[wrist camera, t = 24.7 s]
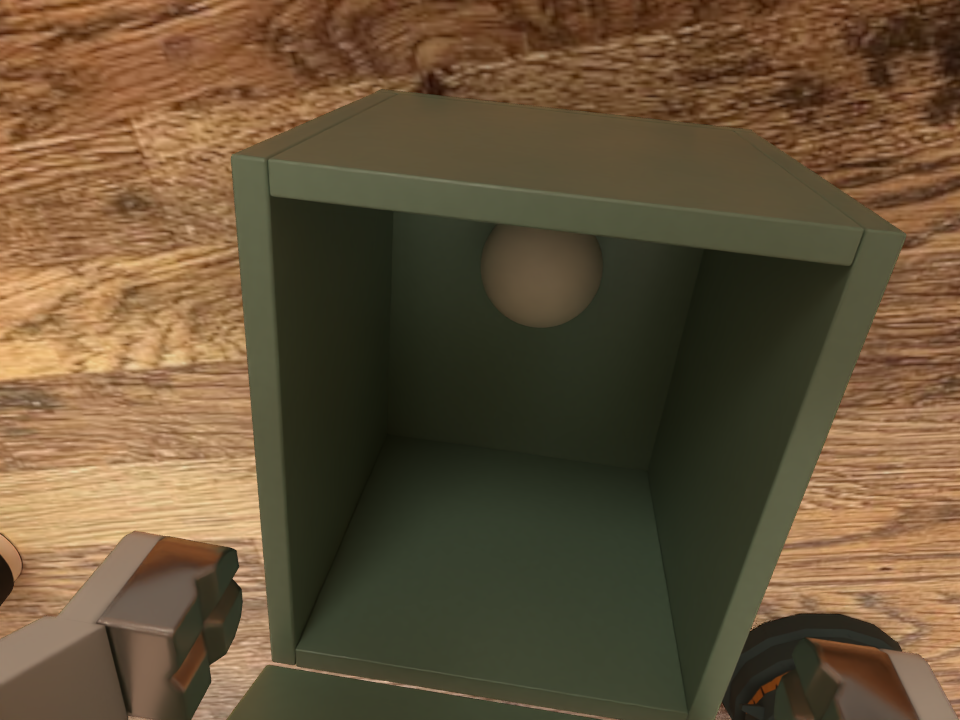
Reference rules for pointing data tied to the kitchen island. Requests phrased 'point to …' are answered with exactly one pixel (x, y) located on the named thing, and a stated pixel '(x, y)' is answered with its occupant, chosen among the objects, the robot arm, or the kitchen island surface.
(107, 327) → the kitchen island surface
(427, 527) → the bin
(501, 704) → the bin lid
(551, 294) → the beige ball
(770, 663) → the mug
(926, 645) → the kitchen island surface
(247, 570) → the kitchen island surface
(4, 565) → the dixie cup
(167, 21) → the kitchen island surface
